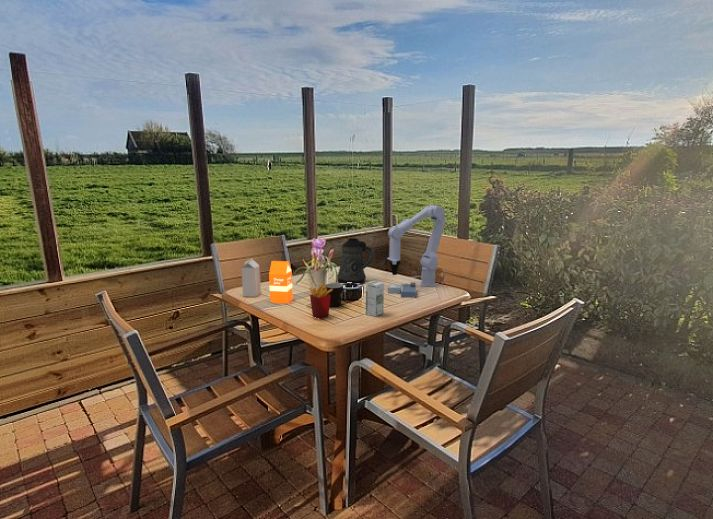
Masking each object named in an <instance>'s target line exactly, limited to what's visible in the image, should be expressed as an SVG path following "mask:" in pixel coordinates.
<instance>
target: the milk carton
mask: <svg viewBox="0 0 713 519" xmlns="http://www.w3.org/2000/svg"><path fill="white" fill-rule="evenodd" d="M260 268H261V267H260V265H259V264H258V262H256V261H255V260H254V257H251V258H249V259H248V260H246V261H245V262H244V263H243V265H242V267H241V268H240V269H241V283H242V286H241V287H242V296H243V298H245V297H246V298H250V297H251V298H257V297H259V295H260V294H262V288H261V286H262V285H261V271H260Z"/></svg>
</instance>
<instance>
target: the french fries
mask: <svg viewBox="0 0 713 519" xmlns="http://www.w3.org/2000/svg"><path fill="white" fill-rule="evenodd" d="M326 284H327V283H325V284H323V283H321V284H320V285H319V286H318V288H316V287H313V288H312V287H309V291H310V292H311V294H310V295H309V298H310V306H311V311H312V312H311V313H312V318H315V317H316V318H315V319H318V318H319V319H318V320H323V319H325V317H326V318H328V316H329V315H330V296H331V295H328V293H329V292H331V291H333V290H332V289H330V290H328V291H327V289H326V286H327V285H326ZM322 318H323V319H322Z"/></svg>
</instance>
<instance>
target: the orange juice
mask: <svg viewBox="0 0 713 519" xmlns="http://www.w3.org/2000/svg"><path fill="white" fill-rule="evenodd" d="M292 273H293V272H292V268H291V265H290V262H289V261H288V260H287V261H286V260H285V261H284V260H280V261H279V260H271V264H270V268H269V273H268V278H269V281H268V282H269V299H270V300H269V301H270V302H273V303H272V304H285V303H288V304H289V303H290V302H291V301H292V300H294V299H293V297H294V296H293V274H292Z"/></svg>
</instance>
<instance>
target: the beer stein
mask: <svg viewBox="0 0 713 519" xmlns="http://www.w3.org/2000/svg"><path fill="white" fill-rule="evenodd" d="M340 249H341V257H340V258H341V259H340V265H339V269H338V272H337V275H336V278H337V277H338V278H337V283H347V282H352V283H361V284H360V285H363V284H364V283H366V278H367V276H366V273H365V268H367V267H368V266H369V265H370V263H371V261H373V260H372V259H373V255H374V254H373V250H372V248H371V247H369V246H367V243H366V242H365V241H361V240H359V239H358V238H355V237H353V238H352V237H351V238H348V239H347V241H345V242H344V243H343V244H342V245H341V246H340ZM362 252H365V253H367V254H368V257H367V258H366V260H365V262H364V263H363V255H362Z"/></svg>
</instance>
